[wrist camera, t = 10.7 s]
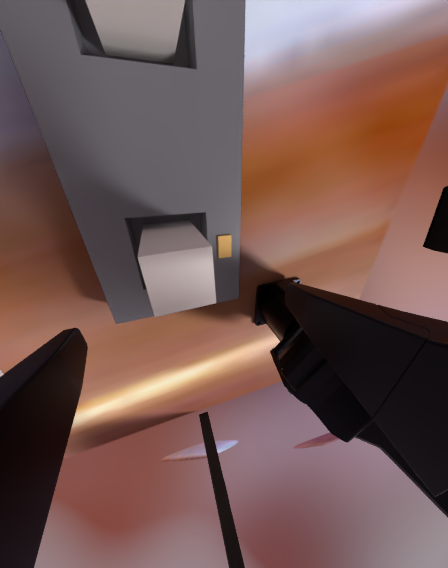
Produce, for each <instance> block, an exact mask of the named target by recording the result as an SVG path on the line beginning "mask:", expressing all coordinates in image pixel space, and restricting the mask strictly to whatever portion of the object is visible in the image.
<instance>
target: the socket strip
mask: <svg viewBox="0 0 448 568" xmlns="http://www.w3.org/2000/svg"><path fill="white" fill-rule="evenodd" d="M0 30H1V32H2V35H3V37H4V40H5V42H6V45H7V47H8V50H9V52H10V55H11V58H12V60H13V63H14V65H15V68H16V70H17V73H18V75H19V78H20V81H21V83H22V86H23V88H24V91H25V93H26V96H27V98H28V101H29V103H30V106H31V109H32V111H33V114H34V116H35V119H36V121H37V124H38V126H39V129H40V132H41V134H42V137H43V139H44V142H45V144H46V147H47V149H48V152H49V154H50V157H51V160H52V162H53V165H54V167H55V170H56V172H57V175H58V177H59V180H60V183H61V185H62V188H63V190H64V193H65V195H66V198H67V200H68V203H69V205H70V208H71V211H72V213H73V216H74V218H75V221H76V223H77V226H78V228H79V231H80V234H81V236H82V239H83V241H84V244H85V246H86V249H87V251H88V254H89V256H90V259H91V262H92V264H93V267H94V269H95V272H96V274H97V277H98V279H99V282H100V285H101V287H102V290H103V292H104V295H105V297H106V300H107V302H108V305H109V307H110V310H111V313H112V315H113V318H114V320H115V323H116V324H118V323H123V322H128V321H133V320H137V319H142V318H147V317H152V316H154V313H153V309H152V306H151V302H150V299H149V295H148V292H147V288H146V285H145V282H144V278H143V275H142V271H141V268H140V264H139V261H138V251H139V246H140V240H141V235H142V229H143V225H149V224H158V223H167V222H176V221H185V220H190V222H191V223H192V224H193V225H194V226H195V227H196V228H197V230H198V231H199V232H200V233H201V234H202V235H203V236H204V238H205V239H206V240H207V241H208V242H209V243H210V244H211V246H212V253H213V266H214V279H215V292H216V303H220V302H225V301H230V300H234V299H239V263H240V218H241V174H242V130H243V85H244V41H245V0H0Z"/></svg>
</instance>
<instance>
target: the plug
mask: <svg viewBox="0 0 448 568" xmlns="http://www.w3.org/2000/svg"><path fill="white" fill-rule="evenodd" d="M138 261H139V264H140V268H141V271H142V275H143V278H144V282H145V285H146V288H147V292H148V295H149V299H150V302H151V306H152V309H153V313H154V316H155V317H158V316H162V315H167V314H171V313H176V312H180V311H184V310H189V309H193V308H198V307H202V306H206V305H211V304H215V303H216V292H215V279H214V266H213V253H212V246H211V244H210V243H209V242H208V241H207V240H206V239H205V238H204V236H203V235H202V234H201V233H200V232H199V231H198V230H197V228H196V227H195V226H194V225H193V224H192V223H191V222H190V220H185V221H176V222H167V223H158V224H149V225H143V229H142V235H141V240H140V246H139V251H138Z"/></svg>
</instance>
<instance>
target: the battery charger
mask: <svg viewBox="0 0 448 568" xmlns="http://www.w3.org/2000/svg"><path fill="white" fill-rule="evenodd" d="M423 247H425V248H428V249H431V250H434V251H439V252H444V253H448V186H446V187H444V188H443V190H442V193H441V196H440V199H439V202H438V205H437V207H436V210H435V213H434V216H433V219H432V222H431V225H430V227H429V230H428V233H427V236H426V239H425V242H424V244H423Z"/></svg>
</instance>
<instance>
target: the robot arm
mask: <svg viewBox="0 0 448 568" xmlns="http://www.w3.org/2000/svg"><path fill="white" fill-rule="evenodd" d="M261 288H262V289H261ZM260 289H261V290H260ZM254 323H255V324H256V325H257V326H259V325H263V324H267V325H268V326H269V327H270V329H271V330H272V331H273V333H274V334H275V335H276V336H277V338H278V339H279V340H280V342H279V344H278V345H277V346H276V347H275V348H273V349H272V350H271V351H270V353H271V355H272V358H273V360H274V363H275V365H276V367H277V370H278V372H279V374H280V377H281V379H282V382H283V384H284V386H285V387H286V388H287V389H288V391H289V392H290V393H291V394H293V395H294V396H295V397H296V398H297V399H298V400H300V401H301V402H303V403H304V404H307V405H308V406H309V407H310V408H311V409H312V411H313V412H314V413H315V414H316V415H317V416H318V418H319V419H320V420H321V421H322V423H323V424H324V425H325V426H326V427H327V429H328V430H329V431H330V432H331V433H332V434H333V435H334V436H336V437H338V438H339V439H341V440H343V441H345V442H349V441H350V440H352V439H353V438H354V437H355V438H358V439H360V440H362V441H365V442H367V443H369V444H371V445H374V446H376V447H378V448H380V449H381V450H382V451H383V452H384V453H385V454H386V455H388V457H389V458H390V459H391V460H392V461H393V462H394V463H395V464H396V465H397V466H398V467H399V468H400V469H401V470H402V471H403V472H404V473H405V474H406V475H407V476H408V477H409V478H410V479H411V480H412V481H413V482H414V483H415V484H416V485H417V486H418V487H419V488H420V489H421V491H423V493H424V494H425V495H426V496H427V497H428V498H429V499H430V500H431V501H432V502H433V503H434V504H435V505H436V506H437V507H438V508H439V509H440V510H441V511H442V512H443V513H444V514H445V515H446V516H447V517H448V322H446V321H442V320H438V319H433V318H429V317H424V316H420V315H416V314H412V313H408V312H403V311H400V310H396V309H392V308H388V307H384V306H380V305H376V304H373V303H369V302H366V301H362V300H358V299H355V298H351V297H347V296H343V295H340V294H336V293H332V292H329V291H325V290H321V289H317V288H314V287H310V286H306V285H303V284H301V279H299V278H295V279H287V280H281V281H276V282H274V283H269V284H263V285H259V286H258V287H257V294H256V307H255V320H254ZM87 349H88V347H87V343H86V341H85V339H84V337H83V335H82V334H81V332H80V330H79V329H78V328H72V329H67V330H63V331H62V332H60V333H59V334H58V335H56V336H55V337H54V338H52V339H51V340H50V341H48V342H47V343H46V344H44V345H43V346H42V347H40V348H39V349H37V350H36V351H35V352H33V353H32V354H31V355H29V356H28V357H27V358H25V359H24V360H23V361H21V362H20V363H18V364H17V365H16V366H14V367H13V368H12V369H10V370H9V371H8V372H6V373H5V374H4V375H2V376H1V377H0V568H34V565H35V562H36V558H37V554H38V550H39V547H40V543H41V539H42V535H43V532H44V528H45V524H46V521H47V517H48V513H49V509H50V506H51V502H52V498H53V494H54V491H55V487H56V483H57V479H58V476H59V472H60V468H61V465H62V461H63V457H64V453H65V450H66V446H67V442H68V438H69V435H70V431H71V427H72V424H73V420H74V416H75V412H76V409H77V405H78V401H79V397H80V394H81V389H82V384H83V378H84V371H85V364H86V357H87Z"/></svg>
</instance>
